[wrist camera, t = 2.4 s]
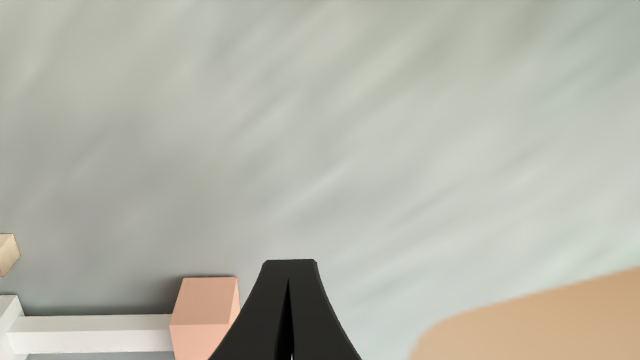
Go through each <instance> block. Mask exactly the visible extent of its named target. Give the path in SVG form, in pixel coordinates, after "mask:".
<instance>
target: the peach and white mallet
mask: <svg viewBox="0 0 640 360" xmlns="http://www.w3.org/2000/svg"><path fill="white" fill-rule="evenodd" d="M239 313H240V303H239V293H238V283H237V277H212V278H183V282H182V285H181V288H180V291H179V294H178V297H177V301H176V304H175V307H174V310H173V313H172V314H148V315H87V316H26V317H25V315H24V312H23V310H22V307H21V305H20V302H19V299H18V297H17V295H0V360H25V359H26V357H27V356H28V354H38V353H93V352H148V351H174V354H175V360H208V359H209V357H210V356H211V355H212V353H213V352H214V351H215V349H216V348H217V346H218V345H219V344H220V342H221V341H222V339H223V338H224V336H225V335H226V333H227V332H228V330H229V329H230V327H231V326H232V324H233V323H234V321H235V319H236V318H237V316H238V315H239Z"/></svg>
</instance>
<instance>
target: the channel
mask: <svg viewBox="0 0 640 360" xmlns="http://www.w3.org/2000/svg"><path fill="white" fill-rule="evenodd" d="M19 257H20V253H19V250H18V247H17V244H16V241H15V239H14V236H13V234H0V277H4V276H5V274H6V273H7V272H8V271H9V269H10V268H11V267H12V266H13V264H14V263H15V262H16V260H17V259H18V258H19Z"/></svg>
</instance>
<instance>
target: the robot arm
mask: <svg viewBox="0 0 640 360" xmlns="http://www.w3.org/2000/svg"><path fill="white" fill-rule="evenodd" d="M291 357H292V358H293V360H362V359H361V357H360V356H359V354H358V353H357V351H356V350H355V348H354V347H353V345H352V343H351V342H350V340H349V338H348V337H347V335H346V333H345V331H344V330H343V328H342V326H341V324H340V322H339V320H338V318H337V316H336V314H335V312H334V310H333V308H332V306H331V304H330V302H329V300H328V297H327V295H326V292H325V290H324V287H323V284H322V282H321V279H320V275H319V271H318V267H317V262H316V261H315V260H313V259H292V260H267V261H265V262H264V263H263V265H262V268H261V271H260V273H259V276H258V278H257V281H256V283H255V285H254V287H253V289H252V291H251V293H250V295H249V297H248V299H247V300H246V302H245V304H244V306H243V307H242V309H241V311H240V313H239V315H238V316H237V318H236V319H235V321H234V323H233V324H232V326H231V327H230V329H229V330H228V332H227V333H226V335H225V336H224V338H223V339H222V341H221V342H220V344H219V345H218V346H217V348H216V349H215V351H214V352H213V353H212V355H211V356H210V357H209V359H208V360H291Z"/></svg>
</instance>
